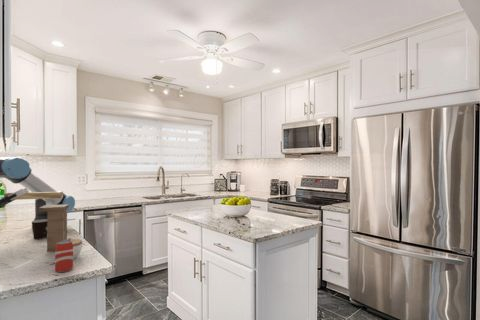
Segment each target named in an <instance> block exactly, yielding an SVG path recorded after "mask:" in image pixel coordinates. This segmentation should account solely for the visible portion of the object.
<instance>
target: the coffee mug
mask: <svg viewBox="0 0 480 320" xmlns="http://www.w3.org/2000/svg"><path fill="white" fill-rule="evenodd" d="M32 228H33V229H32ZM31 229H32V235H33V239H34V240H42V239H47V219H42V220H35V221H34V220H31Z"/></svg>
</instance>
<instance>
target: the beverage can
mask: <svg viewBox="0 0 480 320" xmlns="http://www.w3.org/2000/svg"><path fill="white" fill-rule="evenodd" d="M54 255H55V256H54V271H56V272H57V273H66V272H70V271H71V270H72V269H73V268H74V259H73V244H72V241H71V240H68V239H67V240H64V241H59V242H57V245H56V247H55V251H54Z"/></svg>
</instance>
